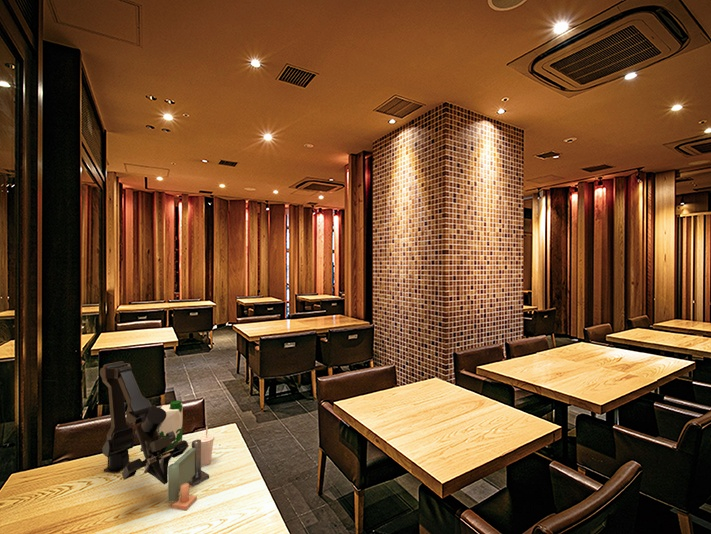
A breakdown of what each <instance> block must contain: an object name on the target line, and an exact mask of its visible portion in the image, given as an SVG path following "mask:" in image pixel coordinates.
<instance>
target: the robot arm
mask: <svg viewBox="0 0 711 534" xmlns="http://www.w3.org/2000/svg"><path fill="white" fill-rule="evenodd" d="M133 372H134V371H133V367H132V366H131V363H127V362H126V363H125V361H123V360H122V361H120V360H119V361H116V362H112V363H111V362H110V363H106V364H103V366H102V367H100V370H99V375H100V377H101V380H102V383H103V384H104V385H105V386H106V387H107V388H108V390H107V391H108V402H109V412H110V413H109V414H110V428H109V430H108V432H107V434H106V441H105V443H104V444H103V446H102V447H101V448H102V449H101V450H102V455H103V456H105V457H106V458H107V467H106V468H103V472H110V473H116V474H117V473H120V472H121V471H122V472H121V476H122V479H123V481H124V480H128V479H130V478H131V477H134V476H135V475H136V474H137V471H138V470H141V469H142V468H144V469H145V470H144V472H143V473H144V474H147V473H148V474H149V475H151V476H152V477H154V478H155V479H157V480H158V481H159V482H160V483H161V484H162V485H166V484H167V483H168V466H169V463H170V461H171V459H174V458H177V457H179V456H182V455H184V454H185V453H186V450H187V449H188V448H189V443H188V441H187V440H184V439H182V441H180V442H178V443H175V444H174V445H173V446H172V448H171V449H169V450H167V451H165V450H166V449H167V448H168V446H171V442H173V441H175V440H176V437H175V434H174V432H173V431H172V432H169V433H166V437H164V438H163V437H162V435H159V433H158V429H159V428H160V426H161V424H162V423H163V421H164V420H165V418H166V412H165V411H164V410H163V409H162V408H161V407H158V406H157V404H153V405H152V403H151V402H150V400H149V399H148V398H146V397H144V396H143V395H142V393H141V391H140V388H139V385H138V383H137V380H136V378H135V376H134V374H133ZM125 401H126V404H127V409H126V407H125ZM137 424H138V425H137ZM130 425H132V426H135V425H137V426H136V429H135V431H133V428H132V426H130ZM135 436H137V439H138V441H139V444H140V452H143V456H144V458H145V459H144V460H142V459H140V458H137V459H134V460H132V461H130V454H129V450H131V449H133V447H134V444H135V439H136V438H135ZM162 455H163V456H162Z"/></svg>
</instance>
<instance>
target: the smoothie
mask: <svg viewBox="0 0 711 534" xmlns="http://www.w3.org/2000/svg"><path fill="white" fill-rule="evenodd" d="M196 440H201V466H202V465H205V466H208V465H210V464H211V463H210V462H212V456H213V455H212V454H213V446H214V441H215V435H214V434H211V433H208V426H205V434H202V435H200V436H199V437H198V436H197V438H196ZM209 463H210V464H209ZM207 464H208V465H207Z"/></svg>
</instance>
